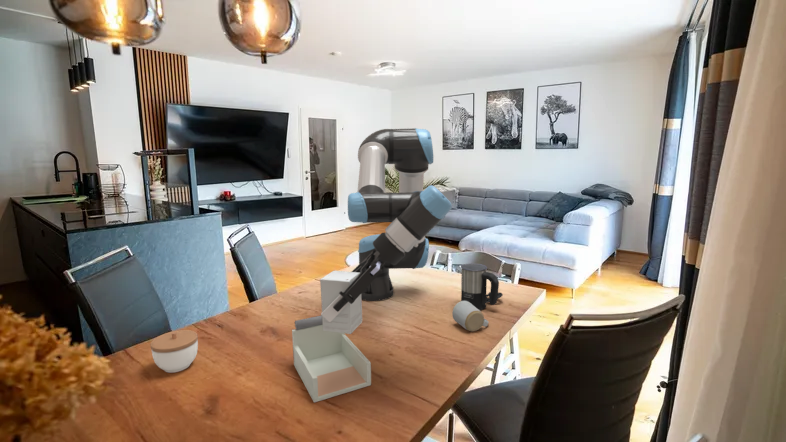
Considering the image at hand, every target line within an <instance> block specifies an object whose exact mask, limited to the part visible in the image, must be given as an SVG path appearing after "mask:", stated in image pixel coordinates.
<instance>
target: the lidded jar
mask: <svg viewBox="0 0 786 442" xmlns="http://www.w3.org/2000/svg"><path fill="white" fill-rule="evenodd" d="M198 339H199V337H198V333H197V332H196V331H194V330H191V329H180V330H178V329H177V330H174V331H169V332H166V333H163V334H161V335H158V336H157V337H155V338H154V339H153V340H152V341H150V344H149V345H150V350H151V354H152V355H151V356H152V359H153V361H154V364H155V365H156V366H157V367H158V368H159V369H160V370H163V371H164V372H165V373H171V374H173V373H178V372H182V371H185V370H186V369H188V368H189V367H190V365H191V364H192V363H193V361H194V360H195V359H196V357H197V354H198V347H199V341H198Z"/></svg>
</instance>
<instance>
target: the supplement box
mask: <svg viewBox="0 0 786 442" xmlns="http://www.w3.org/2000/svg"><path fill="white" fill-rule="evenodd" d="M359 274H360V272H352V271H343V270H332V271H331V272H329V273H328V274H326V275H325V276H323V277H322V278H320V279H319V282H320V298H321V299H320V300H321V313H322V312H323V311H324V310H325V309H326V308H327V307H328V306H329V305H330V304H331V303H332V302H333V301H334V300H335V299H336V298H337V297H338V296H339V295H340V294H339V292H340V291H342V292H345V290H346V289H347V288H348V287H349V286H350V285H351V283H352V282H353V281H354V280H355V279H356V277H357V276H358V275H359ZM349 295H350V294H349ZM350 296H351V295H350ZM351 297H352V296H351ZM362 301H363V300H362V299H361V294H360V295H359V296H358V298H357V299H356V300H355V301H354V302H353V303H352V304H350V303H349V304H348V305H347V306H346V307H345V308H344V309H343V310H342V311H341V312H340V313H339V314H338V315H337V316H336V317H335V318H334V319H333V320H332V321H331V322H329V321H328V320H326V319H325V318H324V317H323V316H322V321H323V331H331V332H339V333H345V335H346V334H347V335H351V334H353V332H354V331H355V330H356V329H357V328H359V326H360V325H361V324H362V323H363V306H362Z"/></svg>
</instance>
